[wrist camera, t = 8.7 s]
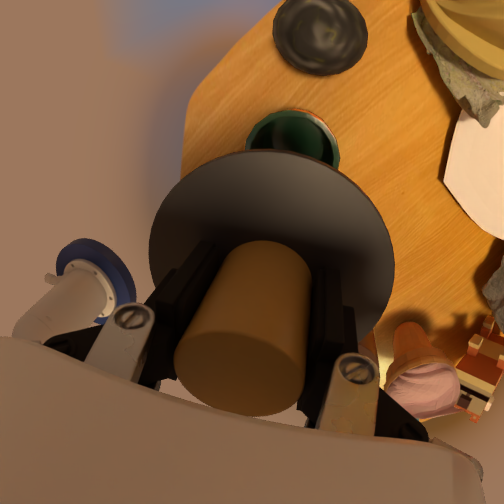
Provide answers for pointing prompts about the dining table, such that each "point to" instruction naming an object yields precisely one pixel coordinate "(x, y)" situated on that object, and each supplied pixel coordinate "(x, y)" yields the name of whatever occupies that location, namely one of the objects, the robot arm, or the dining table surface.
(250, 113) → the dining table surface
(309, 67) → the decorative stone
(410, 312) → the dining table surface
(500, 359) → the toy character
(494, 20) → the sculpture
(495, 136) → the plate
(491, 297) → the stone
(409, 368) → the ice cream cone
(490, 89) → the rock
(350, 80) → the dining table surface
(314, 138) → the canister
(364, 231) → the lid
